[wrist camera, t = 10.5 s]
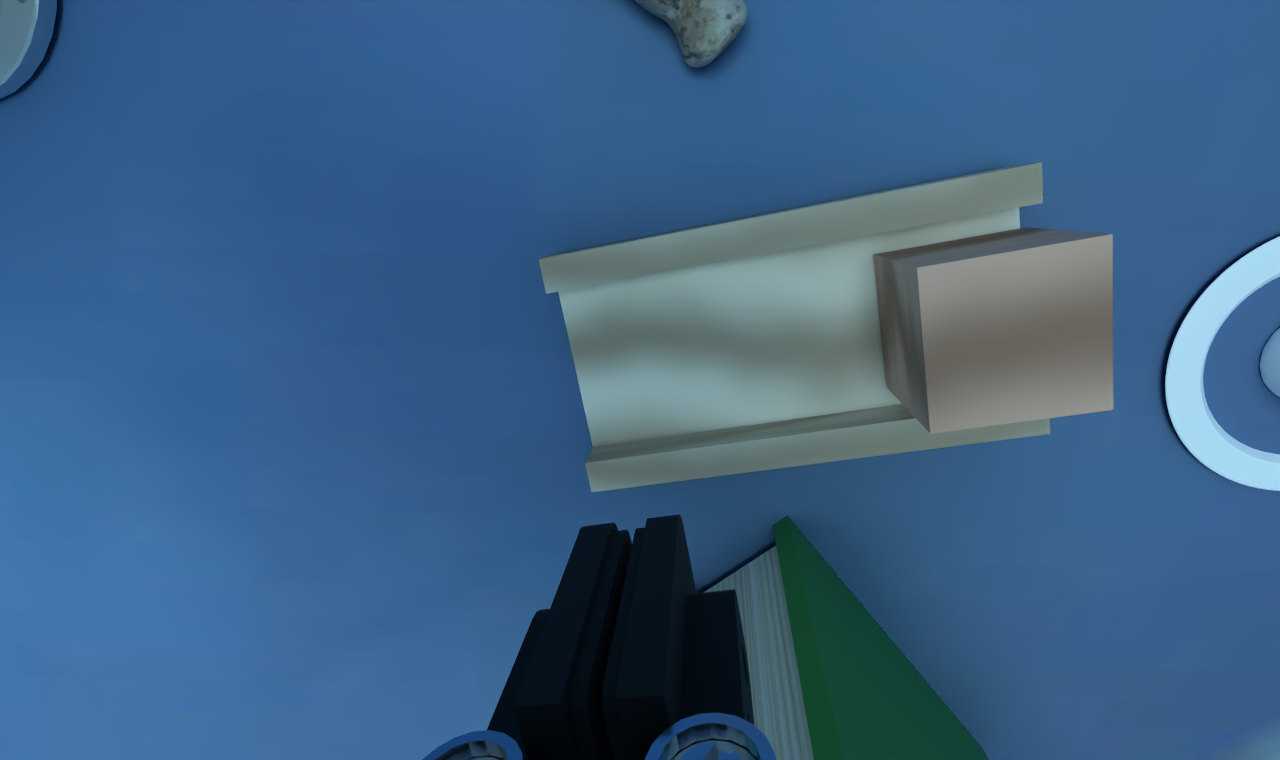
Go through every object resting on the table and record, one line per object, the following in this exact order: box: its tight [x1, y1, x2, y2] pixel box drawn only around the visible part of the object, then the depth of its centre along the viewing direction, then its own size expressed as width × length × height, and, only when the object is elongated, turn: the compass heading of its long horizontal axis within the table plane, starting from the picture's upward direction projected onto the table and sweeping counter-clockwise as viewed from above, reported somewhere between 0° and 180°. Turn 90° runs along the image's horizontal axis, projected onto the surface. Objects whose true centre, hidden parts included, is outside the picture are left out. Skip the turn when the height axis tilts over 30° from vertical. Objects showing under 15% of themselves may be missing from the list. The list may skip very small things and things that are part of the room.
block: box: [874, 228, 1113, 434], centre depth 24 cm, size 6×6×6 cm
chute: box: [538, 162, 1050, 492], centre depth 28 cm, size 11×20×3 cm, turn 101°
